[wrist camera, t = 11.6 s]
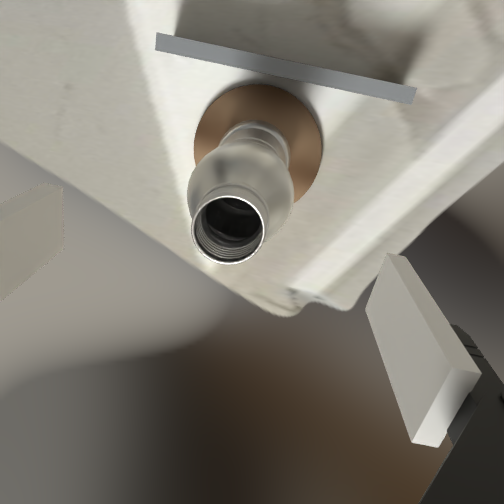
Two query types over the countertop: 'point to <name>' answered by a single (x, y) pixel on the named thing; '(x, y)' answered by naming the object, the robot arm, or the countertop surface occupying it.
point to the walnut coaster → (274, 112)
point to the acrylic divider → (284, 68)
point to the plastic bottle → (241, 192)
